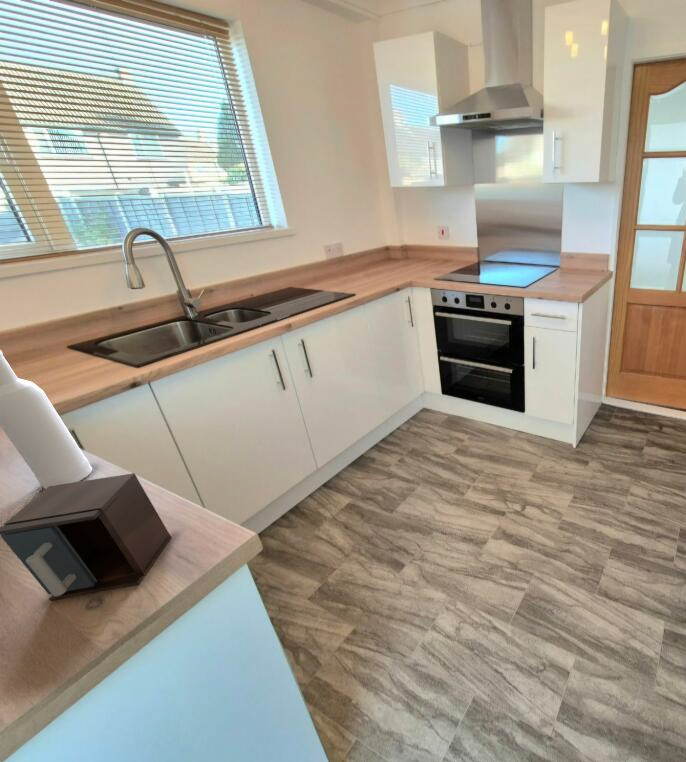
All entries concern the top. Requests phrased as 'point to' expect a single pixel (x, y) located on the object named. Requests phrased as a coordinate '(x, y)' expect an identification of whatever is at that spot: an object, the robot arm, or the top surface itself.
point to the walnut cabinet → (99, 529)
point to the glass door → (49, 560)
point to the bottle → (38, 431)
